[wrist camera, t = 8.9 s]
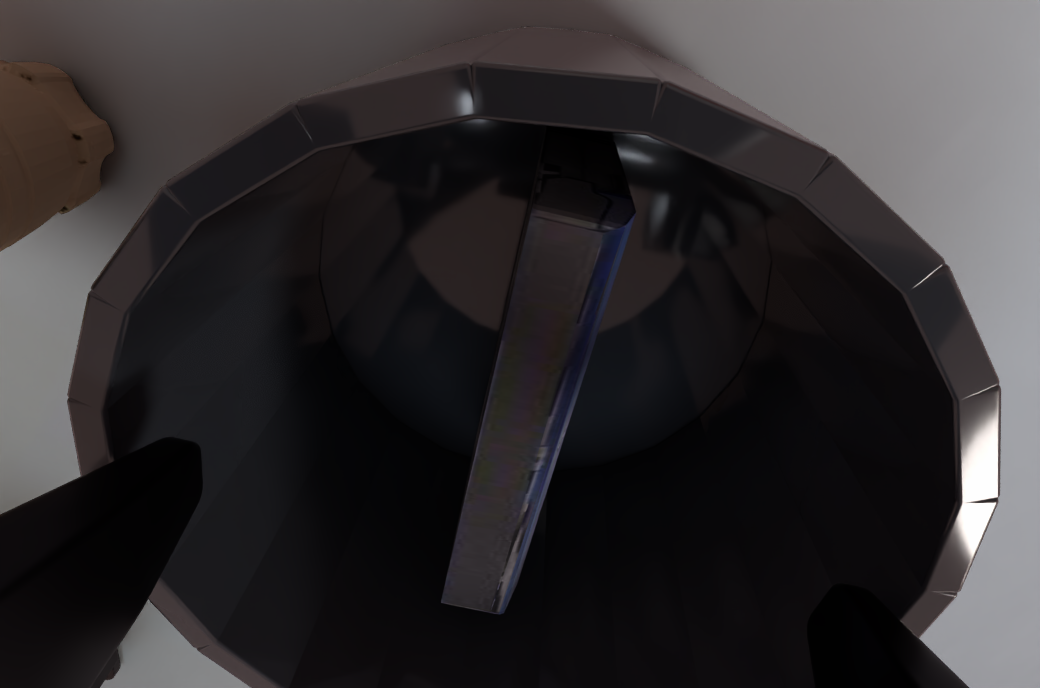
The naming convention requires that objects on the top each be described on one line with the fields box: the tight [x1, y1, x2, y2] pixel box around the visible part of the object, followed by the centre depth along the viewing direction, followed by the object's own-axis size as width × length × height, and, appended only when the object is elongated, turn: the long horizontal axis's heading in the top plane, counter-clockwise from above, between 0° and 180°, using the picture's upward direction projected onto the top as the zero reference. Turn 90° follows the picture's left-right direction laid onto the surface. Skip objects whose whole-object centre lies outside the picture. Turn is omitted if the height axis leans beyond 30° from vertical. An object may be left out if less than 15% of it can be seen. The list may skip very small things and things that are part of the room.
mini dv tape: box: [441, 126, 636, 614], centre depth 13 cm, size 8×2×6 cm, turn 168°
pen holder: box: [67, 26, 1001, 688], centre depth 12 cm, size 12×12×8 cm
